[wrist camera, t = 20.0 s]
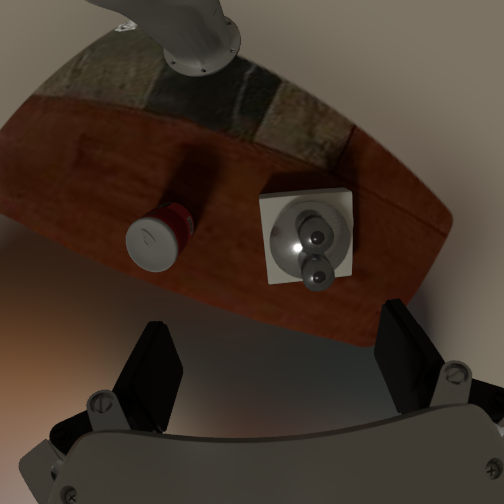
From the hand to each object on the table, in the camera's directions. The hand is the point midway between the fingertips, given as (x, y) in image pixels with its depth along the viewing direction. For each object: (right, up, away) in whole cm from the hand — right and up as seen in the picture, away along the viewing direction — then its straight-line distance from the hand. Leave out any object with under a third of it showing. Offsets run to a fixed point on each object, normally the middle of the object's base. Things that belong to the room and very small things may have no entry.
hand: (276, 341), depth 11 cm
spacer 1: (+7, +8, +28) cm, 30 cm away
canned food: (-14, +9, +34) cm, 38 cm away
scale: (+8, +7, +34) cm, 36 cm away
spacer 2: (+8, +3, +30) cm, 31 cm away
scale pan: (+8, +5, +30) cm, 31 cm away
